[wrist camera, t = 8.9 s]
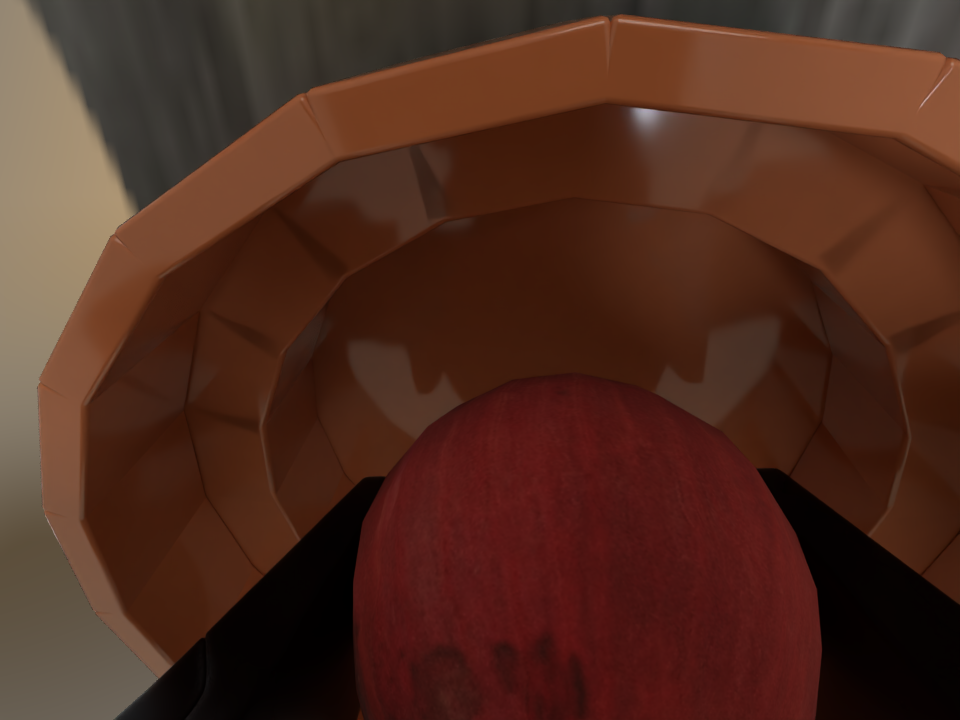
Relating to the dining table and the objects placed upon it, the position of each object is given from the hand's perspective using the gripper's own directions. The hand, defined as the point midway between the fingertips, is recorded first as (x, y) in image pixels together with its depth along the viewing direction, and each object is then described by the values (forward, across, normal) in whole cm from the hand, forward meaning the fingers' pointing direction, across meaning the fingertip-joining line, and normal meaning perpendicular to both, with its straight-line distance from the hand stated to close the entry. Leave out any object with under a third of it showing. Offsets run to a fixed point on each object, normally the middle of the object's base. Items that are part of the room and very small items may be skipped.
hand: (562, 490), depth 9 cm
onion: (+2, 0, 0) cm, 2 cm away
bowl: (+2, 0, 0) cm, 2 cm away
